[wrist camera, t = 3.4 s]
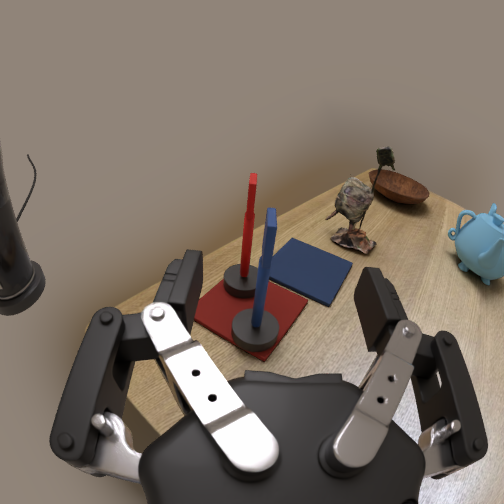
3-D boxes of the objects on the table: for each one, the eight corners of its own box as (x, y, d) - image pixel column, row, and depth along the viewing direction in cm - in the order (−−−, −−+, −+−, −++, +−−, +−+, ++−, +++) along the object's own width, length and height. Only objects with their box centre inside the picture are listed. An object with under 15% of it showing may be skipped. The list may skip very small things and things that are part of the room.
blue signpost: (229, 350, 32) (236, 230, 22) (233, 314, 36) (241, 199, 27) (277, 354, 32) (307, 237, 22) (277, 318, 36) (300, 205, 27)
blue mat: (257, 273, 44) (257, 270, 44) (291, 240, 53) (292, 237, 52) (328, 307, 40) (330, 304, 39) (351, 265, 48) (352, 262, 48)
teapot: (475, 247, 59) (495, 202, 51) (512, 296, 44) (541, 246, 35) (434, 241, 59) (455, 189, 51) (474, 297, 43) (507, 238, 35)
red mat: (185, 314, 36) (184, 311, 36) (237, 269, 45) (237, 266, 44) (264, 362, 31) (265, 359, 31) (307, 302, 40) (308, 299, 40)
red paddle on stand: (221, 296, 39) (225, 185, 29) (225, 270, 43) (231, 167, 34) (262, 300, 39) (279, 190, 29) (263, 274, 43) (277, 172, 34)
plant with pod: (338, 221, 61) (359, 133, 49) (380, 248, 54) (411, 154, 42) (314, 231, 56) (335, 132, 45) (359, 261, 49) (392, 155, 38)
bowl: (354, 192, 76) (358, 175, 73) (378, 178, 90) (382, 165, 87) (416, 221, 66) (422, 205, 63) (429, 202, 80) (433, 188, 77)
